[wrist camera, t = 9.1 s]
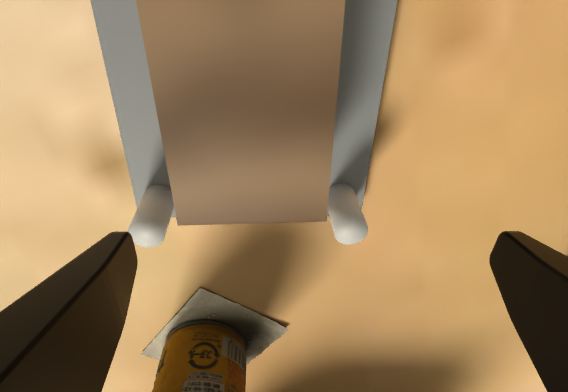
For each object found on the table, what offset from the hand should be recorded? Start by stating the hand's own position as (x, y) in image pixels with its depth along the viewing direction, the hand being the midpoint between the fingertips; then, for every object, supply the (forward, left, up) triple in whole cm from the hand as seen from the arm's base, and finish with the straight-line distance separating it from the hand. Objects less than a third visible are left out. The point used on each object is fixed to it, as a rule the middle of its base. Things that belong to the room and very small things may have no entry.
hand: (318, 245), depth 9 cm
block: (+2, -2, -10) cm, 10 cm away
